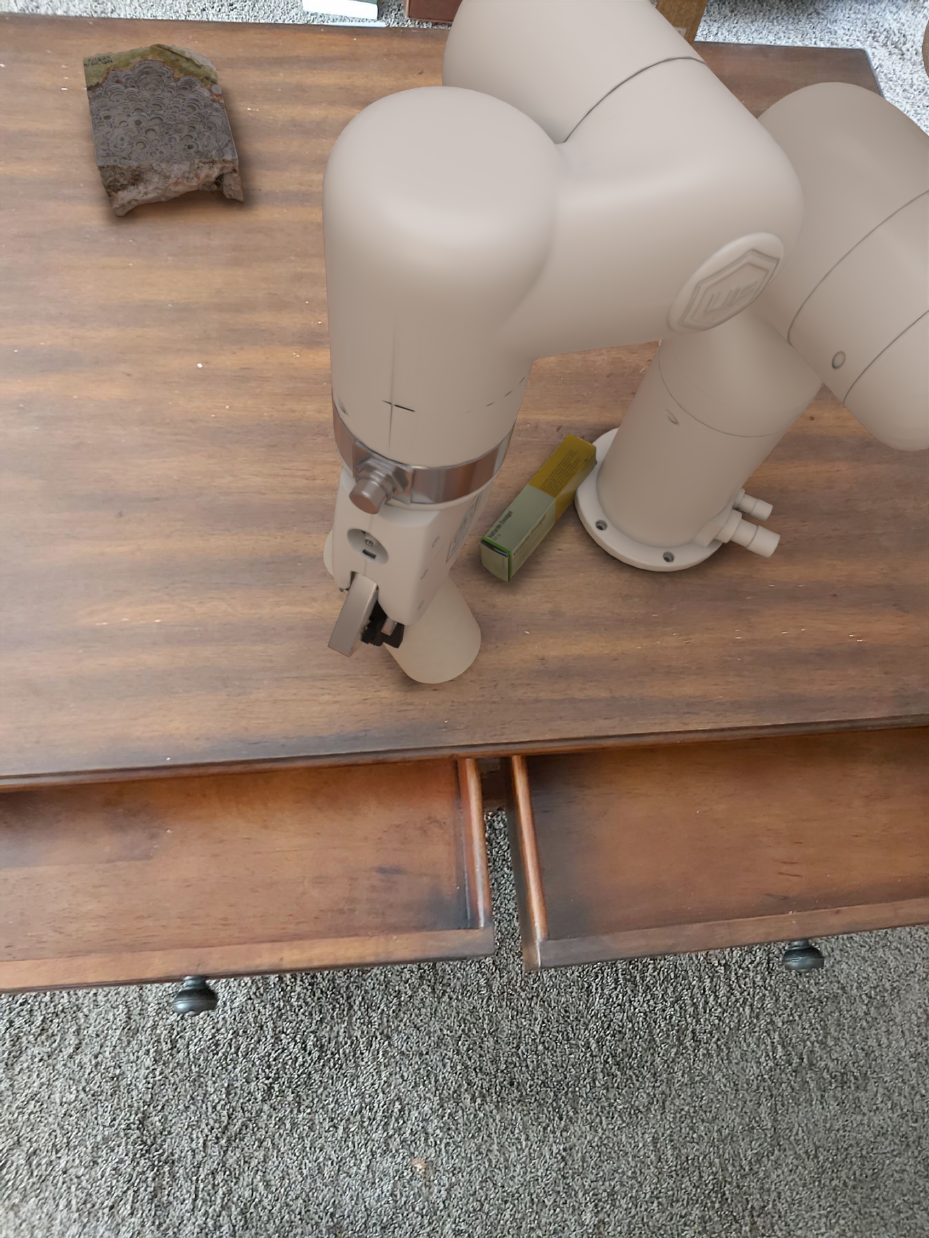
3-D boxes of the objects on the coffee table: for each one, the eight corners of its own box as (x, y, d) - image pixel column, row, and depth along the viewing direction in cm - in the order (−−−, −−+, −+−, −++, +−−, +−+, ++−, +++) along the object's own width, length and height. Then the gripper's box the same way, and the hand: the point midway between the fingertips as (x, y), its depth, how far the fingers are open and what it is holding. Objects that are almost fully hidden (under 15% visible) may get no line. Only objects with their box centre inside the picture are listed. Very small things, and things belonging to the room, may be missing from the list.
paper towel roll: (495, 619, 57) (437, 507, 47) (458, 694, 54) (388, 593, 45) (422, 600, 59) (353, 491, 50) (384, 671, 57) (303, 571, 48)
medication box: (508, 588, 61) (507, 559, 58) (478, 571, 62) (475, 541, 58) (595, 477, 65) (599, 444, 62) (565, 462, 66) (567, 429, 63)
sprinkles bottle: (680, 109, 82) (737, -41, 69) (644, 124, 80) (696, -27, 68) (652, 80, 83) (703, -73, 70) (616, 93, 81) (662, -60, 69)
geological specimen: (98, 177, 64) (72, 34, 68) (121, 236, 70) (96, 101, 74) (238, 160, 66) (206, 22, 70) (249, 219, 71) (218, 88, 76)
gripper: (407, 625, 31) (391, 738, 48) (585, 312, 37) (516, 507, 54) (231, 536, 31) (276, 678, 48) (438, 242, 38) (414, 457, 55)
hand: (403, 587), depth 51 cm, fingers closed on paper towel roll, 6 cm apart
